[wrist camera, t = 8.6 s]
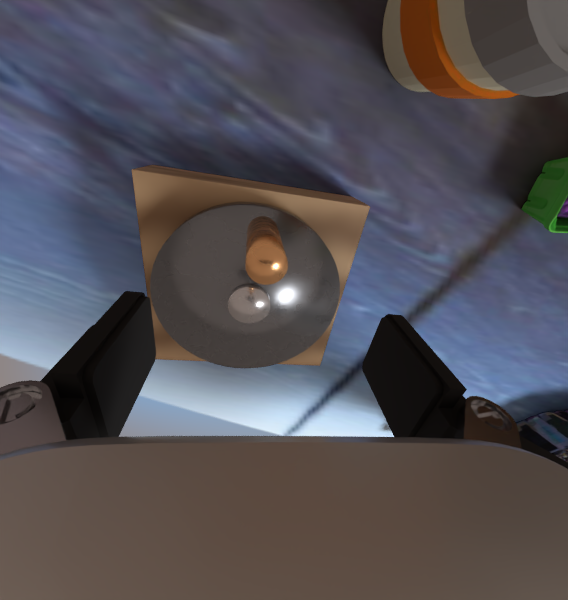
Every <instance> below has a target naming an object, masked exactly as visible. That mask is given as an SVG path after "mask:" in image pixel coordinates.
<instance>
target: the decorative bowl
mask: <svg viewBox="0 0 568 600" xmlns="http://www.w3.org/2000/svg"><path fill="white" fill-rule="evenodd" d="M516 424H517V427H518V431H519V435H520V436H522V437H523V438H525V439H527V440H529V441H531V442H532V443H534V444H536V445H538V446H539V447H541V448H543V449H545V450H547V451H548V452H550V453H552V454H554V455H555V456H557V457H559V458H561V459H563V460H564V461H566V462H568V410H566V411H556V412H554V413H551V412H546V413H541V414H538V415H537V416H533V417H530V418H527V419H526V420H525V421H521V422H518V423H516Z"/></svg>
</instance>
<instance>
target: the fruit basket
mask: <svg viewBox="0 0 568 600" xmlns="http://www.w3.org/2000/svg"><path fill="white" fill-rule="evenodd" d="M542 172H543V173H541V174H540V175H539V177H538V178H537V180H536V182H535V184H534V186H533V187H532V189H531V191H530V193H529V195H528V201H526V202H525V204H524V205H523V207H522V210H523V211H524V212H526V213H527V214H529V215H530V216H532V217H533V218H535V219H536V220H537V221H539V222H540V223H542V224H543V225H544V227H545V228H546V229H547V230H549V231H550V232H554V233H568V157H566V158H562V159H557V160H552V161H548V162H546V163H545V164H544V166H543V170H542Z"/></svg>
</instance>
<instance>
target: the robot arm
mask: <svg viewBox="0 0 568 600" xmlns="http://www.w3.org/2000/svg"><path fill="white" fill-rule="evenodd" d="M155 358H156V346H155V337H154V328H153V320H152V311H151V302H150V298H149V297H145V294H144V293H142V292H130V291H126V292H124V293H123V294H122V295H121V296H120V298H119V299H118V300H117V301H116V302H115V303H114V304H113V305H112V306H111V307H110V308H109V310H108V311H107V312H106V313H105V314H104V315H103V316H102V317H101V318H100V319H99V320H98V322H97V323H96V324H95V325H93V326H92V327H90V328H89V329H88V330H87V331H86V332H85V334H84V335H83V336H82V337H81V338H80V339H79V340H78V341H77V342H76V343H75V344H74V345H73V346H72V348H71V349H70V350H69V351H68V352H67V353H66V354H65V355H64V356H63V357H62V358H61V359H60V361H59V362H58V363H57V364H56V365H55V366H54V367H53V368H52V369H51V370H50V371H49V372H48V373H47V375H46V376H45V377H44V378H43V379H42V380H41V381H21V382H16V383H12V384H8V385H6V386H3V387H1V388H0V600H568V462H566V461H564V460H563V459H561V458H559V457H557V456H555V455H554V454H552V453H550V452H548V451H547V450H545V449H543V448H541V447H539V446H538V445H536V444H534V443H532V442H531V441H529V440H527V439H525V438H523V437H522V436H520V435H519V431H518V427H517V424H516V422H515V421H514V420H513V418H512V417H511V416H510V415H509V414H508V413H507V412H506V411H505V410H504V409H502V408H501V407H500V406H498V405H497V404H495V403H493V402H492V401H490V400H487V399H485V398H482V397H478V396H470V397H468V398H467V399H465V398H464V397H463V394H464V392H465V391H466V390H467V389H466V388H465V387H464V386H463V385H462V384H461V382H460V381H459V380H458V379H457V378H456V377H455V376H454V374H453V373H452V372H451V371H450V370H449V369H448V367H447V366H446V365H445V364H444V363H443V362H442V361H441V359H440V358H439V357H438V356H437V355H436V354H435V353H434V351H433V350H432V349H431V348H430V347H429V346H428V345H427V343H426V342H425V341H424V340H423V339H422V338H421V336H420V335H419V334H418V333H417V332H416V331H415V330H414V328H413V327H412V326H411V325H410V324H409V323H408V322H407V320H406V319H405V318H404V317H403V316H402V315H392V314H388V315H386V316H385V317H383V318H382V319H381V321H380V323H379V326H378V328H377V330H376V333H375V335H374V338H373V340H372V342H371V345H370V347H369V350H368V352H367V354H366V357H365V359H364V362H363V365H362V369H363V372H364V374H365V376H366V379H367V381H368V383H369V385H370V387H371V389H372V391H373V393H374V395H375V397H376V399H377V402H378V404H379V406H380V408H381V410H382V412H383V414H384V416H385V418H386V420H387V422H388V425H389V427H390V429H391V431H392V433H393V435H394V437H330V436H145V437H119V435H120V433H121V430H122V428H123V426H124V424H125V422H126V420H127V418H128V416H129V414H130V412H131V410H132V407H133V405H134V403H135V401H136V399H137V397H138V395H139V393H140V391H141V389H142V387H143V384H144V382H145V380H146V378H147V376H148V374H149V372H150V370H151V368H152V366H153V364H154V361H155Z"/></svg>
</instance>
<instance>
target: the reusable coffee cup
mask: <svg viewBox="0 0 568 600" xmlns="http://www.w3.org/2000/svg"><path fill="white" fill-rule="evenodd" d="M382 39H383V50H384V56H385V60H386V63H387V65H388V68H389V71H390V72H391V74H392V75H393V77H394V78H395V80H396V81H397V82H399V83H400V84H401V85H402V86H403V87H405V88H407V89H409V90H412V91H417V92H433V93H435V94H437V95H438V96H443V97H448V98H470V99H497V98H510V97H513V96H516V95H519V94H521V95H526V96H530V97H540V96H554V95H557V94H561V93H565V92H568V0H388V2H387V6H386V10H385V15H384V21H383V31H382Z"/></svg>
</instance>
